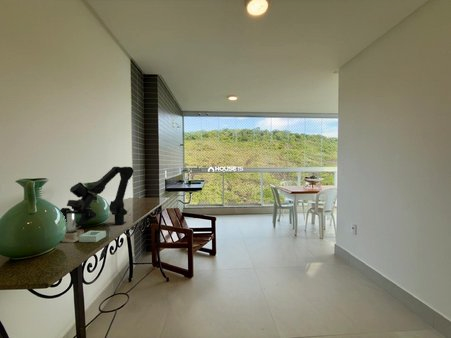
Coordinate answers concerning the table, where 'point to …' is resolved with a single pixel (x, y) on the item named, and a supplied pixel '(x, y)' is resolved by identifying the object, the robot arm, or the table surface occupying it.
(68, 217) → the axle
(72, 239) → the brown square frame
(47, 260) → the table surface
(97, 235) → the socket block
